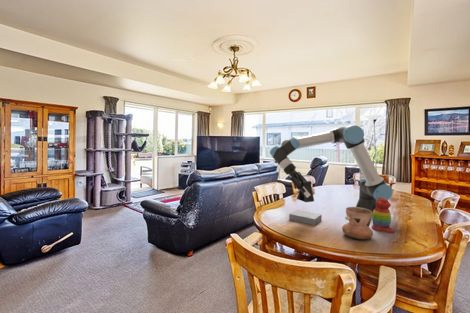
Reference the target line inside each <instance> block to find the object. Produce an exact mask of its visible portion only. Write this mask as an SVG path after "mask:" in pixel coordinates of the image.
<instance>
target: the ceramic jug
mask: <svg viewBox="0 0 470 313" xmlns="http://www.w3.org/2000/svg"><path fill="white" fill-rule="evenodd" d="M345 213H346V216H345V217H344V219H345V220H346V221H348V222H347V223H345V224H343V226H342V227H341V229H342V232H343V233H344V235H346V236H347V237H349V238H352V239H355V240H368V239H371V238H372V237H373V235H374V231H373V229H372V228H370V225H371V222H372V214H373V213H372V211H370V210H368V209H365V208H360V207H356V206H347V207H346V208H345Z"/></svg>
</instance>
